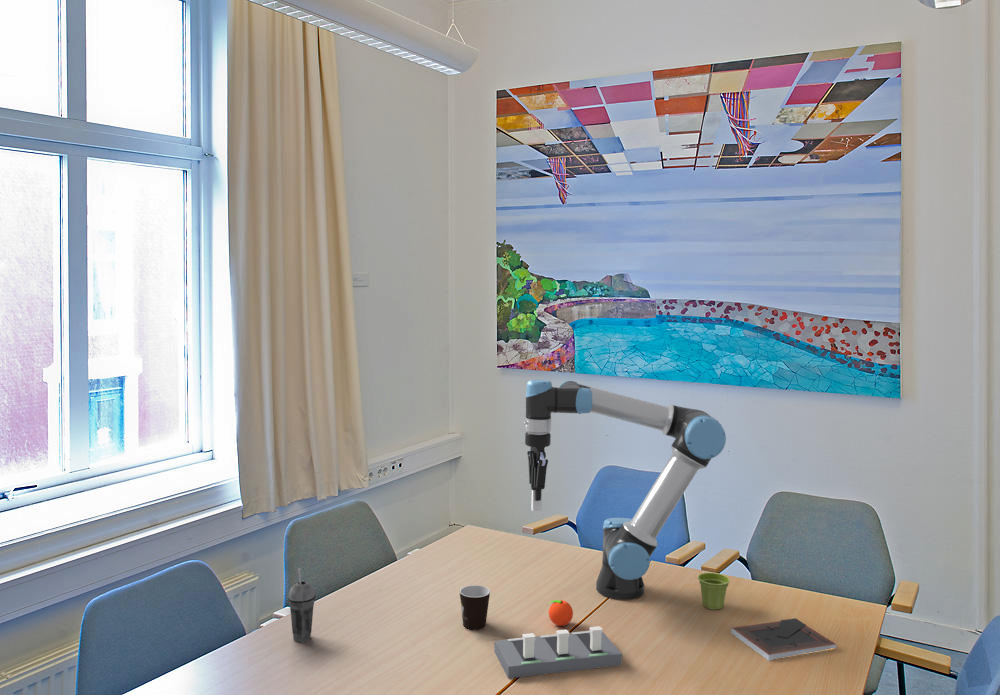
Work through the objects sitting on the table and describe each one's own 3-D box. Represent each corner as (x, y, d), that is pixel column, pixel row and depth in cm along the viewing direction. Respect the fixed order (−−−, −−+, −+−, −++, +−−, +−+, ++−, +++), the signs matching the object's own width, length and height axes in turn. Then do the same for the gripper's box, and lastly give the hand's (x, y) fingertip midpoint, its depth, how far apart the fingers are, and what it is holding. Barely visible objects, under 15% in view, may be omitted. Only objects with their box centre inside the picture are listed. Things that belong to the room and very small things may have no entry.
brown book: (795, 626, 225) (731, 635, 218) (795, 618, 224) (731, 626, 218) (836, 652, 209) (768, 663, 202) (836, 643, 209) (768, 653, 202)
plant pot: (694, 609, 233) (695, 581, 233) (698, 597, 242) (700, 570, 241) (727, 614, 230) (728, 586, 229) (730, 602, 239) (731, 575, 238)
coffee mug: (485, 633, 215) (486, 598, 214) (455, 630, 217) (456, 595, 216) (494, 616, 226) (495, 582, 225) (465, 613, 228) (466, 580, 227)
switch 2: (599, 646, 201) (599, 626, 200) (602, 650, 199) (602, 629, 198) (589, 647, 200) (589, 627, 200) (591, 651, 198) (592, 630, 198)
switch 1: (532, 654, 196) (533, 633, 196) (535, 657, 194) (535, 636, 194) (522, 655, 196) (522, 634, 195) (524, 658, 194) (524, 637, 193)
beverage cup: (321, 634, 213) (320, 563, 211) (306, 646, 206) (305, 573, 204) (298, 630, 215) (297, 560, 213) (282, 641, 208) (282, 569, 206)
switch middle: (566, 650, 199) (566, 629, 198) (568, 653, 197) (569, 632, 196) (555, 651, 198) (556, 630, 197) (558, 655, 196) (558, 634, 196)
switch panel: (600, 640, 212) (601, 629, 212) (621, 665, 198) (621, 653, 198) (494, 651, 204) (494, 640, 204) (508, 678, 191) (508, 665, 191)
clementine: (541, 627, 220) (542, 602, 219) (548, 617, 226) (549, 593, 226) (569, 631, 217) (569, 607, 216) (575, 621, 223) (576, 597, 223)
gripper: (519, 428, 235) (518, 504, 237) (532, 436, 223) (530, 517, 225) (543, 427, 237) (541, 503, 239) (557, 436, 224) (555, 515, 226)
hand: (536, 510), depth 232 cm, fingers closed
